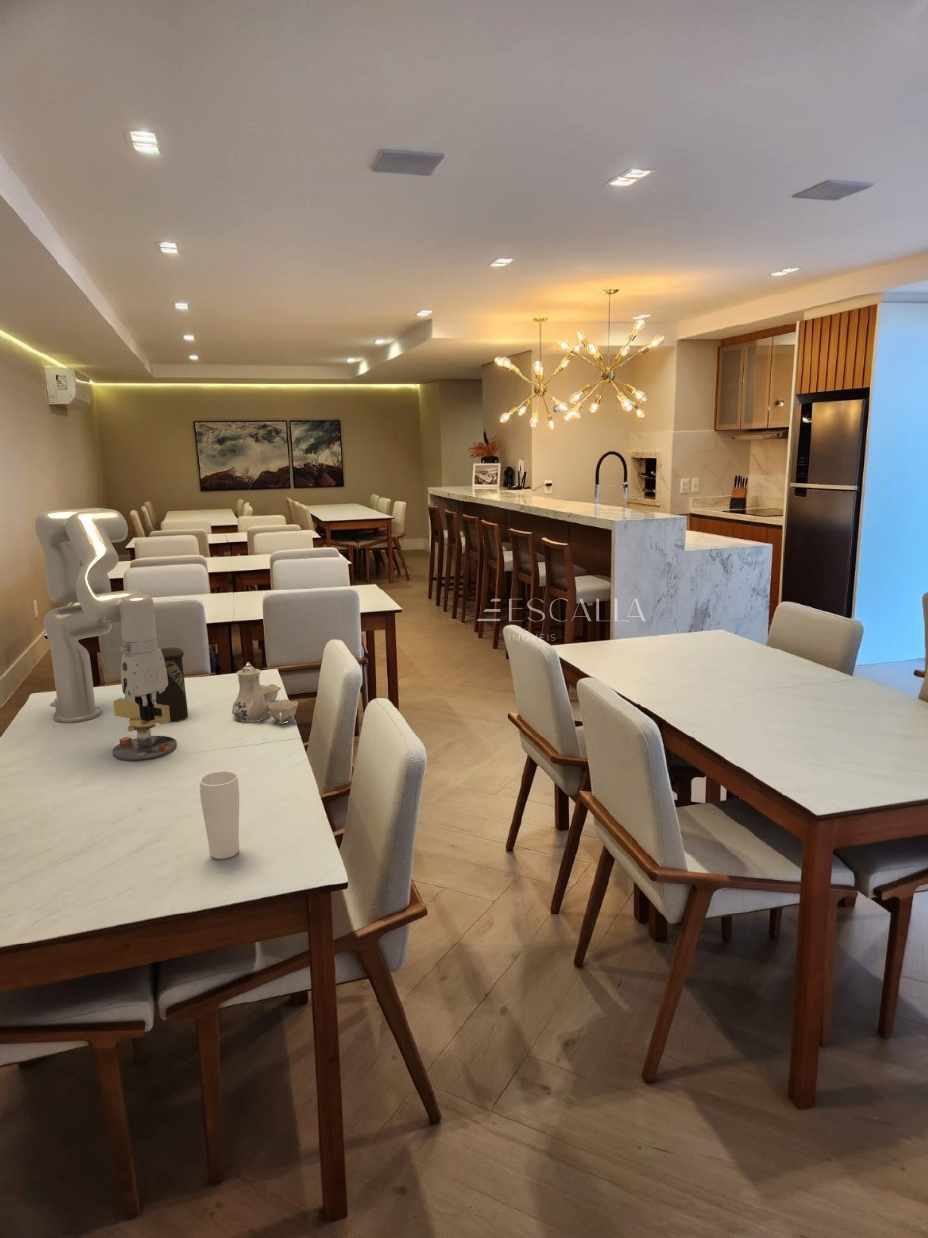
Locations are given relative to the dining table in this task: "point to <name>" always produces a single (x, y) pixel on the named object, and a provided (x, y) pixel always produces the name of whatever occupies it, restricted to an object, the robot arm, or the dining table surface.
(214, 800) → the drinking glass
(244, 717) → the chinaware
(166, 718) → the gold bar handle
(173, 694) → the container
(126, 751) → the post base
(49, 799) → the dining table surface
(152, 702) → the robot arm
